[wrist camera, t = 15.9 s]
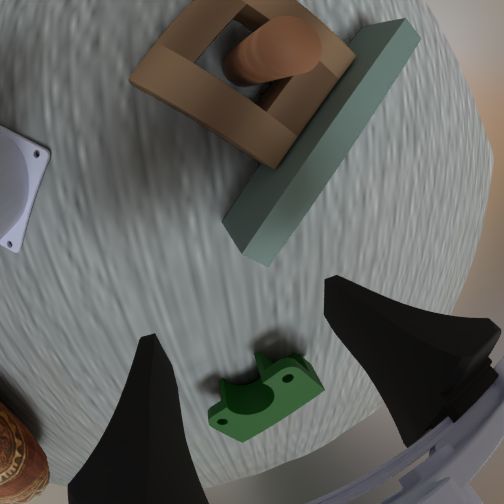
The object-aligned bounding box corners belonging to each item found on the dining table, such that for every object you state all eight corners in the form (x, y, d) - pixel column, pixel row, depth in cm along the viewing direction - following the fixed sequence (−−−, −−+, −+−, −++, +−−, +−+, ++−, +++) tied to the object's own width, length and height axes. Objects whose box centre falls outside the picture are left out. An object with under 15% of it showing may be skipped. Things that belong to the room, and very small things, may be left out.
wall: (221, 222, 20) (241, 253, 16) (362, 27, 16) (405, 18, 12) (243, 234, 21) (268, 267, 17) (377, 43, 17) (421, 38, 12)
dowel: (212, 66, 15) (245, 39, 9) (244, 38, 14) (291, 5, 9) (245, 95, 16) (293, 87, 11) (274, 68, 16) (333, 51, 10)
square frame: (132, 85, 14) (127, 79, 11) (225, -21, 12) (237, -39, 9) (257, 161, 19) (274, 169, 16) (332, 60, 17) (356, 55, 14)
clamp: (256, 324, 32) (303, 346, 24) (286, 351, 34) (335, 375, 26) (190, 401, 28) (218, 446, 20) (226, 422, 30) (261, 464, 22)
